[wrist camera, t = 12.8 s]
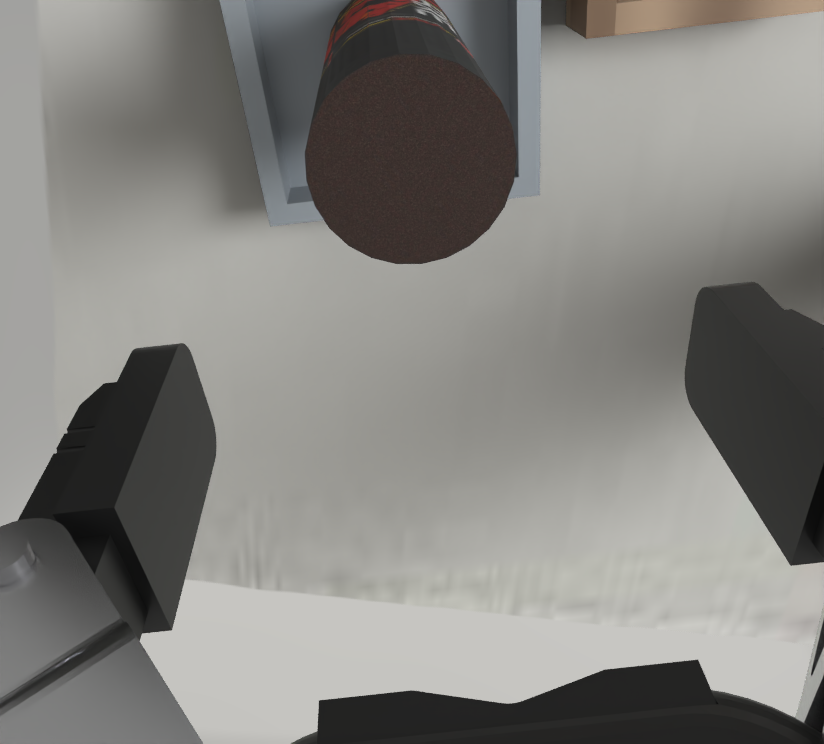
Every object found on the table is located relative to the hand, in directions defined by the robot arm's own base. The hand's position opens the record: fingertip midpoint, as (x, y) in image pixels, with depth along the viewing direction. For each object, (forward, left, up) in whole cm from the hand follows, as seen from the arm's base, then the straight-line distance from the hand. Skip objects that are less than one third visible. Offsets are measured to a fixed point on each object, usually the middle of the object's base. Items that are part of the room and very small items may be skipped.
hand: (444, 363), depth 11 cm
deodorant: (0, 0, -25) cm, 25 cm away
